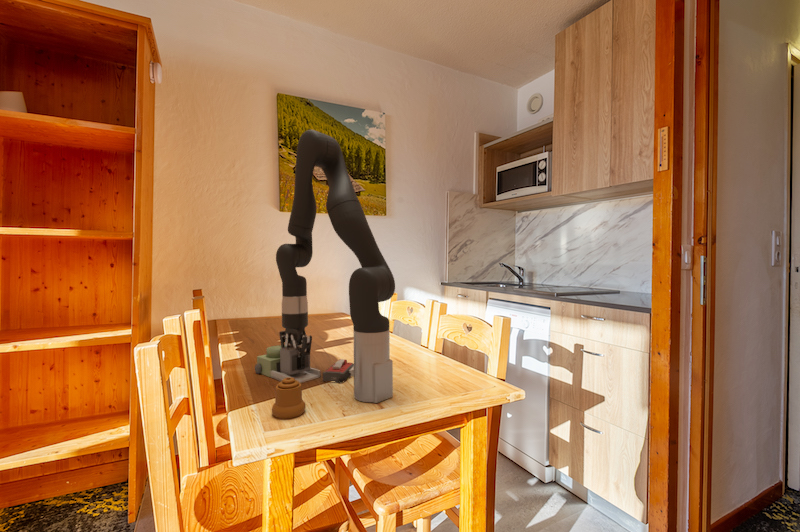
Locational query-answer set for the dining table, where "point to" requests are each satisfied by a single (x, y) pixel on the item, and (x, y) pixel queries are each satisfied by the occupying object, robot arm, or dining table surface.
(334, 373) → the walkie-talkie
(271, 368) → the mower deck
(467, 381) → the dining table surface
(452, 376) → the dining table surface
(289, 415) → the ornamental finial
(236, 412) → the dining table surface
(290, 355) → the grey cube box
